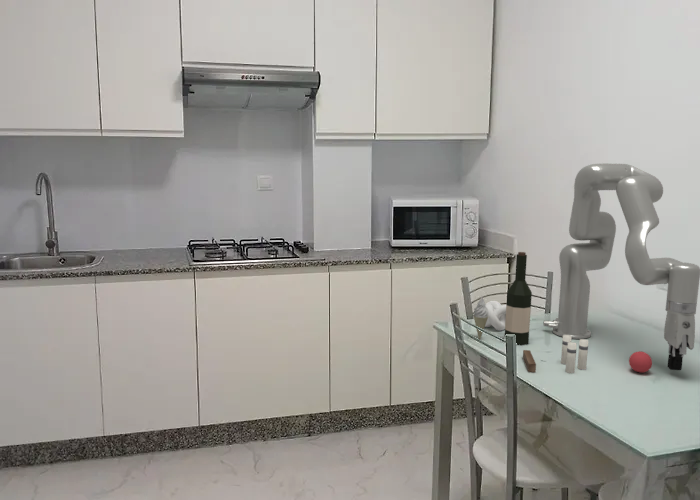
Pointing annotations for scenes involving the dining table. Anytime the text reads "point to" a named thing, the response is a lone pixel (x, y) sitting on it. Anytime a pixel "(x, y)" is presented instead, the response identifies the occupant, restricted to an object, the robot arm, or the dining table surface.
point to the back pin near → (571, 357)
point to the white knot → (496, 315)
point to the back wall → (529, 361)
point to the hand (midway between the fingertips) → (674, 368)
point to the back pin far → (565, 348)
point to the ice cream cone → (480, 316)
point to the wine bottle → (519, 303)
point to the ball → (640, 362)
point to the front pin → (582, 354)
